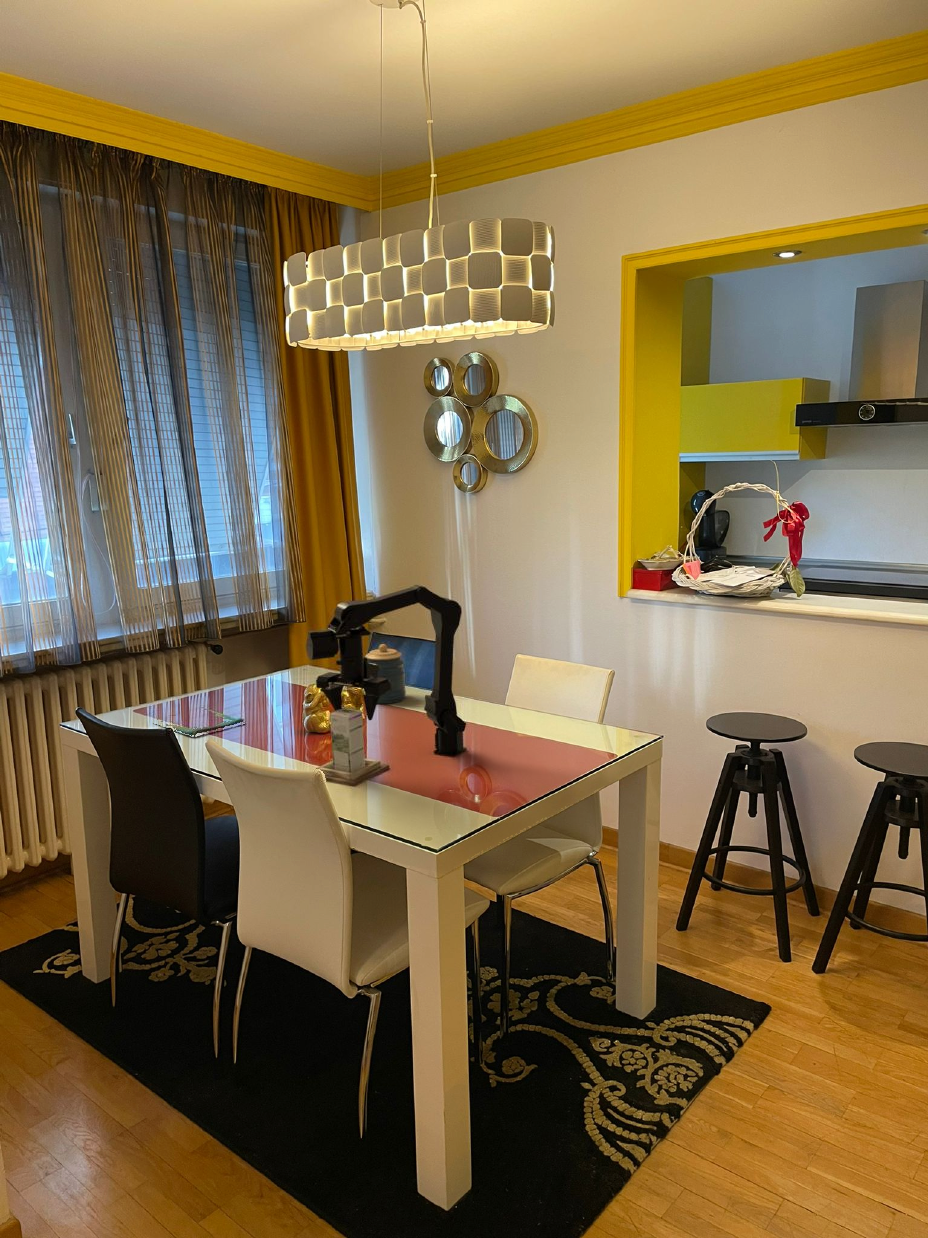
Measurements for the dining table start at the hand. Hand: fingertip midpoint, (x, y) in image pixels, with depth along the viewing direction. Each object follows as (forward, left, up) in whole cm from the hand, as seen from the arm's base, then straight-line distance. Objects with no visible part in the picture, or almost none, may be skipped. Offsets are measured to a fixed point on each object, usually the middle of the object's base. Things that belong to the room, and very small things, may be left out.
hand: (355, 717), depth 222 cm
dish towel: (+66, -11, -14) cm, 68 cm away
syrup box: (0, +3, -12) cm, 13 cm away
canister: (+32, -57, -13) cm, 66 cm away
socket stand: (0, +3, -13) cm, 13 cm away
